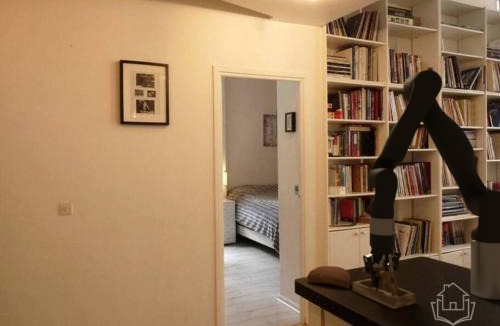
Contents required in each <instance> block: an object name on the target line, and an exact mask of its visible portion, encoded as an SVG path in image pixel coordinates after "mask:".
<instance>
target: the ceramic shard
mask: <svg viewBox="0 0 500 326" xmlns="http://www.w3.org/2000/svg"><path fill="white" fill-rule="evenodd" d="M306 281H307V283H308V284H317V283H318V284H326V285H327V284H328V285H333V286H336V287H337V286H338V287H340V288H344V289H350V281H351V275H350V273H349V272H348V270H347V269H345V268H344V267H343V268H342V267H341V266H336V265H335V266H334V265H325V266H324V265H323V266H317V267H315V268H314V269H312V270H310V271H309V272H308V274H307V277H306Z"/></svg>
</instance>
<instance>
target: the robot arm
mask: <svg viewBox="0 0 500 326" xmlns="http://www.w3.org/2000/svg"><path fill="white" fill-rule="evenodd" d="M442 89H443V79H442V77H441V76H440V74H439V73H438V72H437V71H435V70H433V69H425V70H424V69H423V70H421V71H418V72H416V73H415V74H414V73H413V75H410V76H409V77H407V78H406V79H405V81H404V82H403V85H402V91H403V95H404V97H405V99H406V101H407V104H406V107H405V108H404V111H403V112H402V114H401V116H400V117H399V118H398V120H397V121H396V123H395V124H394V125H393V127H392V129H391V130H390V132H389V134H388V135H387V138H386V140H385V143H384V145H383V148H382V150H381V152H380V154H379V155H378V157H377V158H376V160H375V162H374V163H373V164H372V166H371V168H370V169H369V172H368V174H367V183H368V185H369V186H370V187H371V188H372V189H374V198H372V200H371V201H370V214H369V216H370V217H369V219H370V220H369V246H370V253H369V254H368V255H366V254H364V255H363V256H362V259H363V263H364V266H365V269H366V273H368V274H371V276H372V286H373V287H375V288H379V272H380V269H382V268H384V271H391V272H393V273H395V272H397V271H398V269H399V263H400V260H401V259H400V258H401V252H400V251H397V250H394V248H395V246H396V224H395V223H396V222H395V201H396V198H397V193H398V186H399V180H398V176H397V174H396V172H395V169H396V167H397V166H398V165H401V163H403V161H404V159H405V158H406V156H407V153H408V151H409V149H410V147H411V144H412V141H413V139H414V137H415V135H416V133H417V131H418V129H419V127H420V125H421V123H422V124H423V126H424V128H425V130H426V132H427V133H428V135H429V136H430V139H431V140H432V143H433V144H434V146H435V148H436V150H437V152H438V153H439V156H440V157H441V159H442V161H443V162H444V164H445V165H446V168H447V169H448V171H449V173H450V174H451V176H452V177H453V179H454V181H455V182H456V185H457V187H458V190H459V193H460V195H461V196H462V198H463V201H464V203H465V207H466V208H467V210H468V211H469V212H470V213H471V214H472V215H474V216H475V217H477V218H478V219H477V220H478V221H477V226H476V228H473V229H471V230H470V293H471V294H472V295H474V296H475V297H478V298H482V299H487V300H494V301H495V300H497V301H498V300H500V191H499V190H496V189H489V188H488V187H487V186H486V185H485V184H484V182H483V180H482V179H481V177H480V175H479V173H478V171H477V167H476V155H475V150H474V147H473V145H472V142H471V141H470V139H469V137H468V135H467V134H466V132H465V131H464V129H463V128H462V127H461V126H460V125H459V124H458V123H457V122H456V121H455V120H454V119H453V118H451V117H450V116H449V115H448V114H447V113H446V112H445V111H444V110H443V109H442V108H441V106H440V104H439V103H438V100H437V97H438V96H439V94H440V93H441V90H442ZM376 264H377V265H378V266H377V265H376ZM369 268H370V269H369ZM375 268H376V272H375ZM382 270H383V269H382ZM391 283H392V281H391ZM385 284H386V285H387V283H385Z"/></svg>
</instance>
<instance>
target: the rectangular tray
mask: <svg viewBox="0 0 500 326" xmlns="http://www.w3.org/2000/svg"><path fill="white" fill-rule="evenodd" d="M392 286H393V284H392ZM393 287H394V286H393ZM379 288H380V284H379ZM379 288H378V289H379ZM398 288H399V289H400V291H402V292H404V293H405V294H401V293H400V292H399V291H398V289H397V293H396V295H395V296H392V293H393V291H392V290H391V289H390V288H389V286H388V285H386V284H385V283H383V290H379V291H377V290H375V289H376V288H375V287H373V286H372V280H371V279H370V278H367V279H363V280H357V281H352V292H355V293H357V294H360V295H361V296H363V297H366V298H367V299H368V298H369V299H370V300H373V301H374V302H377V303H379V304H382V305H383V306H386V305H387V306H386V307H388V308H390V309H393V310H395V309H398V308H402V307H407V306H411V305H414V304H416V293H414V292H411V291H408V290H406V289H404V288H400V287H398Z"/></svg>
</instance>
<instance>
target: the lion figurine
mask: <svg viewBox="0 0 500 326" xmlns="http://www.w3.org/2000/svg"><path fill="white" fill-rule="evenodd" d="M375 264H376V263H375ZM376 265H377V266H378V264H376ZM369 269H370V268H369ZM361 271H362V273H363V275H366V276H367V277H368V279H371V280H372V276H371V274H368V273H366V269H365V265H364V267H363V268H362V269H361ZM375 272H376V268H375ZM391 281H392V283H391ZM383 283H387V285H388V286H389V288H390V289H391V290H392V291H393V293H392V296H395V295H396V293H397V289H398V291H399V292H400V293H401V294H405V293H404V292H402V291H400V289H399V288H400V287H399V285H398V283H397V277H396V274H395V272H391V271H385V270H383V269H380V272H379V284H380V288H379V289H378V288H376V289H375V290H377V291H379V290H383ZM392 285H393V286H394V287H393V286H392Z"/></svg>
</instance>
